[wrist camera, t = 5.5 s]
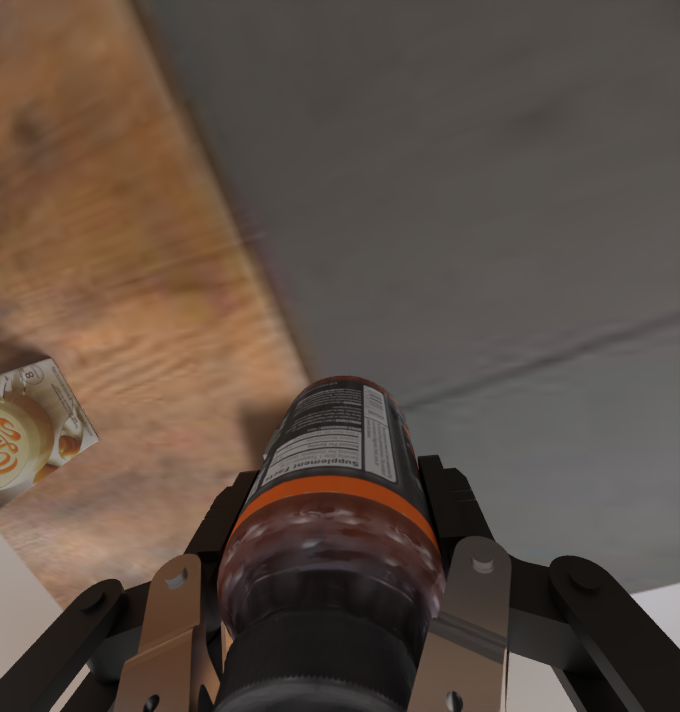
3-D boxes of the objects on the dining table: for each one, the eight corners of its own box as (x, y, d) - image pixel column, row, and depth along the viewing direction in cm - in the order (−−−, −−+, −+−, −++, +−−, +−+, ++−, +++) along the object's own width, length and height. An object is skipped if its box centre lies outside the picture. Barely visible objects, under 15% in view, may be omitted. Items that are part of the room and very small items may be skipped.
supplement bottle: (403, 477, 17) (474, 868, 6) (291, 474, 17) (178, 838, 7) (408, 370, 15) (523, 669, 4) (282, 369, 16) (105, 643, 5)
